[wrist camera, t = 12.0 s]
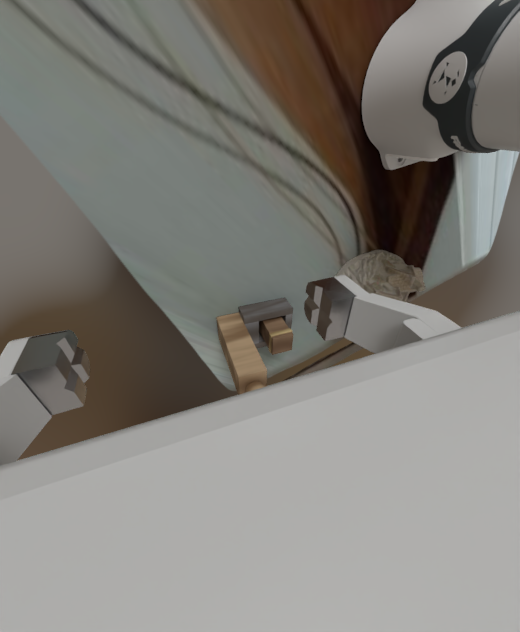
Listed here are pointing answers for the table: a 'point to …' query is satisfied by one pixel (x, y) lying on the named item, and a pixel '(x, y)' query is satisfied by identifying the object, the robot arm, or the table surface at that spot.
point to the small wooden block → (276, 335)
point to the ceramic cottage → (384, 274)
